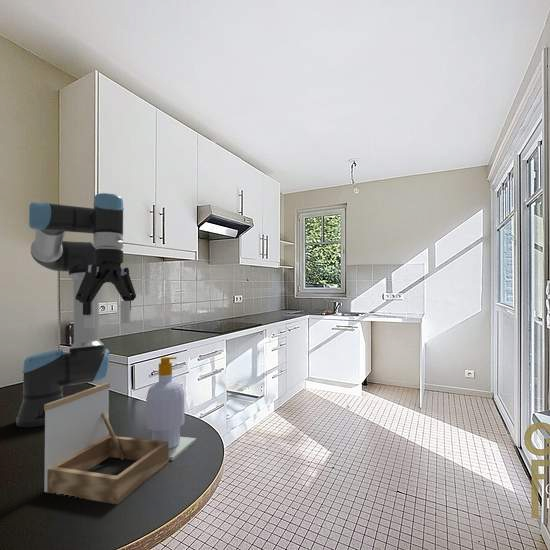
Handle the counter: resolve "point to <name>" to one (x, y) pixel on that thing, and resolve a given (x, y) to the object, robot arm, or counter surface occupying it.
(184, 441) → the trivet
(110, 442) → the frame
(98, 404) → the lid
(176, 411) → the soap bottle
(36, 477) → the counter surface
